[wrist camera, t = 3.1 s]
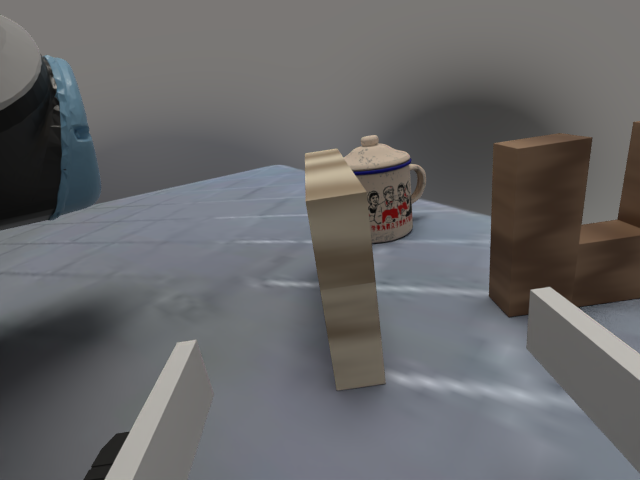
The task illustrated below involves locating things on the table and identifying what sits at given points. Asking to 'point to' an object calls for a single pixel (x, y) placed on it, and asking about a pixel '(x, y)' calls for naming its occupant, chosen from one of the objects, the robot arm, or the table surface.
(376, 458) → the table surface
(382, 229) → the teacup with lid
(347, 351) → the birch board
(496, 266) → the brown wooden u block
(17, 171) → the robot arm
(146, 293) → the table surface
